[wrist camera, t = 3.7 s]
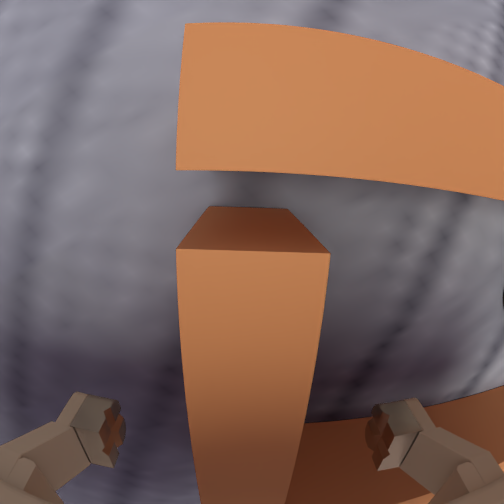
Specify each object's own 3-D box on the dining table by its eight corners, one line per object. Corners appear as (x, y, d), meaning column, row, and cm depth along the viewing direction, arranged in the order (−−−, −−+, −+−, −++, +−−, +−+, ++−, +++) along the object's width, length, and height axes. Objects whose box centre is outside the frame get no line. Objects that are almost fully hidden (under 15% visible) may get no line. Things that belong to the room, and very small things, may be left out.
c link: (214, 455, 13) (209, 543, 8) (213, 90, 9) (185, 23, 4) (520, 402, 13) (557, 443, 9) (583, 176, 9) (645, 191, 5)
